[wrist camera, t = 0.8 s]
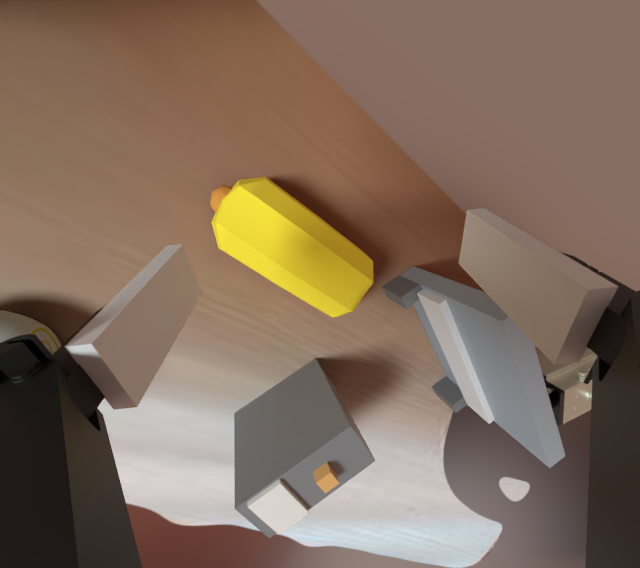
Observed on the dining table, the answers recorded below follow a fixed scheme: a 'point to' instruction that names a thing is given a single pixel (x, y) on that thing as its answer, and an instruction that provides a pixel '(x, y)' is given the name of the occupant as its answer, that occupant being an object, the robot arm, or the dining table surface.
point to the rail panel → (482, 359)
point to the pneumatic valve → (568, 385)
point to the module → (294, 449)
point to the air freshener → (26, 329)
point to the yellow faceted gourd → (290, 245)
